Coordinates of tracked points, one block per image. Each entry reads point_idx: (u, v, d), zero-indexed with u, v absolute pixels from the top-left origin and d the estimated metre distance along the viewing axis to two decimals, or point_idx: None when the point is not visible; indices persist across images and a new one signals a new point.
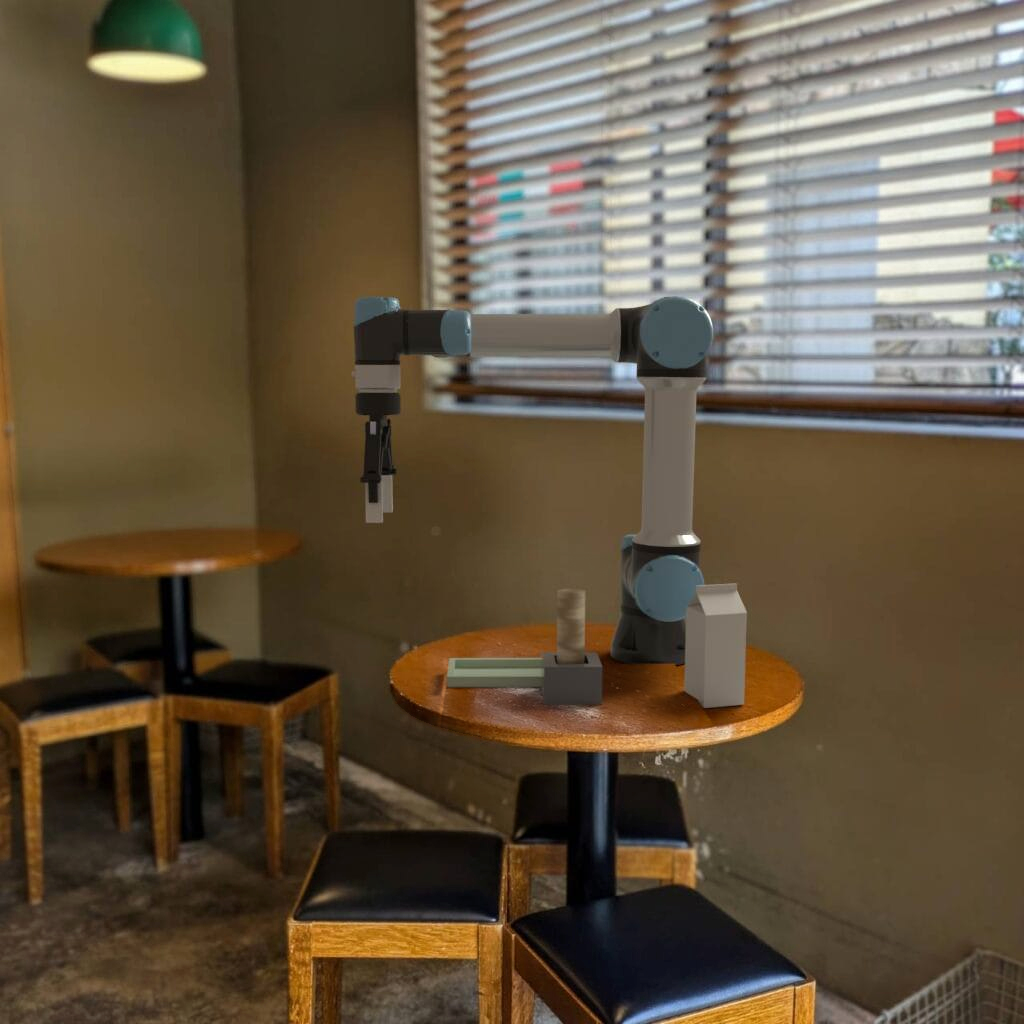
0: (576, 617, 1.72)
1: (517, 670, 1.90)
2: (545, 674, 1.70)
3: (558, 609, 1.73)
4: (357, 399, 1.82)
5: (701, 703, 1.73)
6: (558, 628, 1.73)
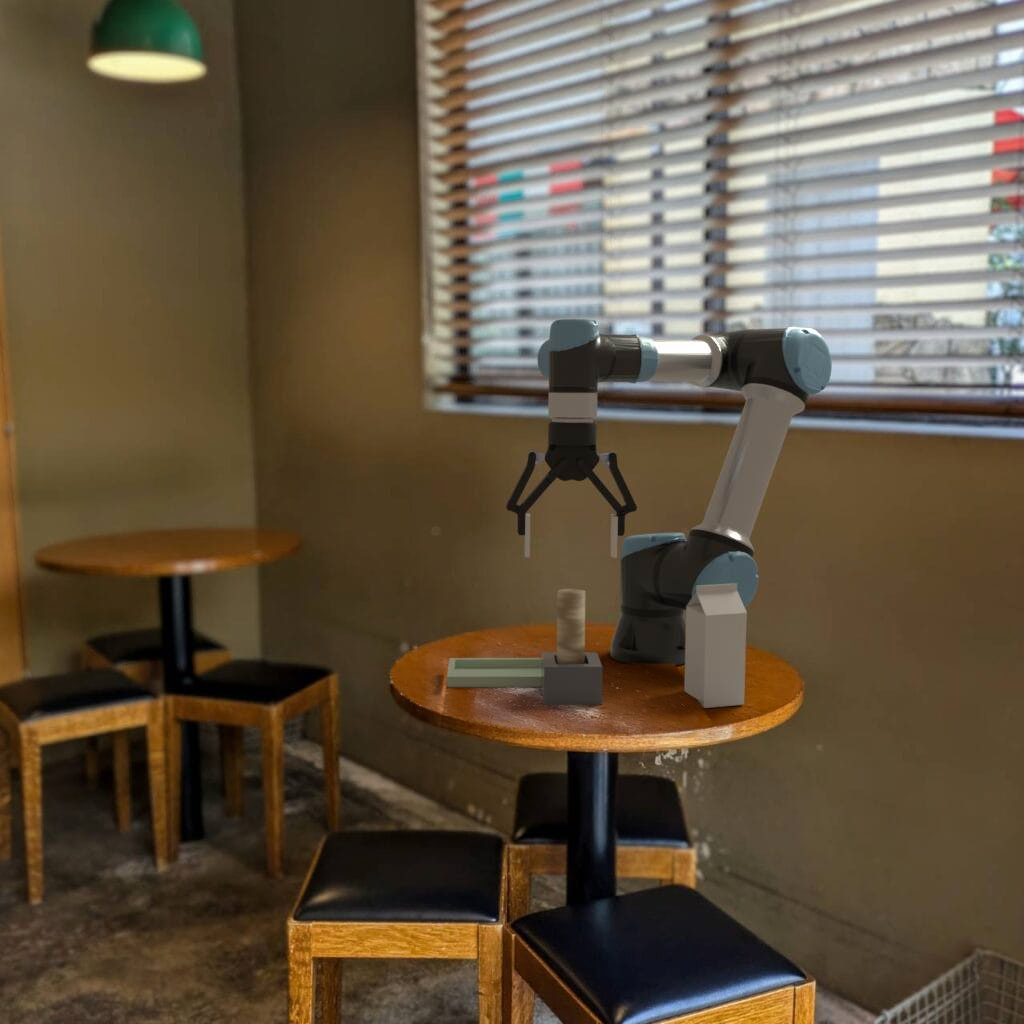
0: (576, 617, 1.72)
1: (517, 670, 1.90)
2: (545, 674, 1.70)
3: (558, 609, 1.73)
4: None
5: (701, 703, 1.73)
6: (558, 628, 1.73)
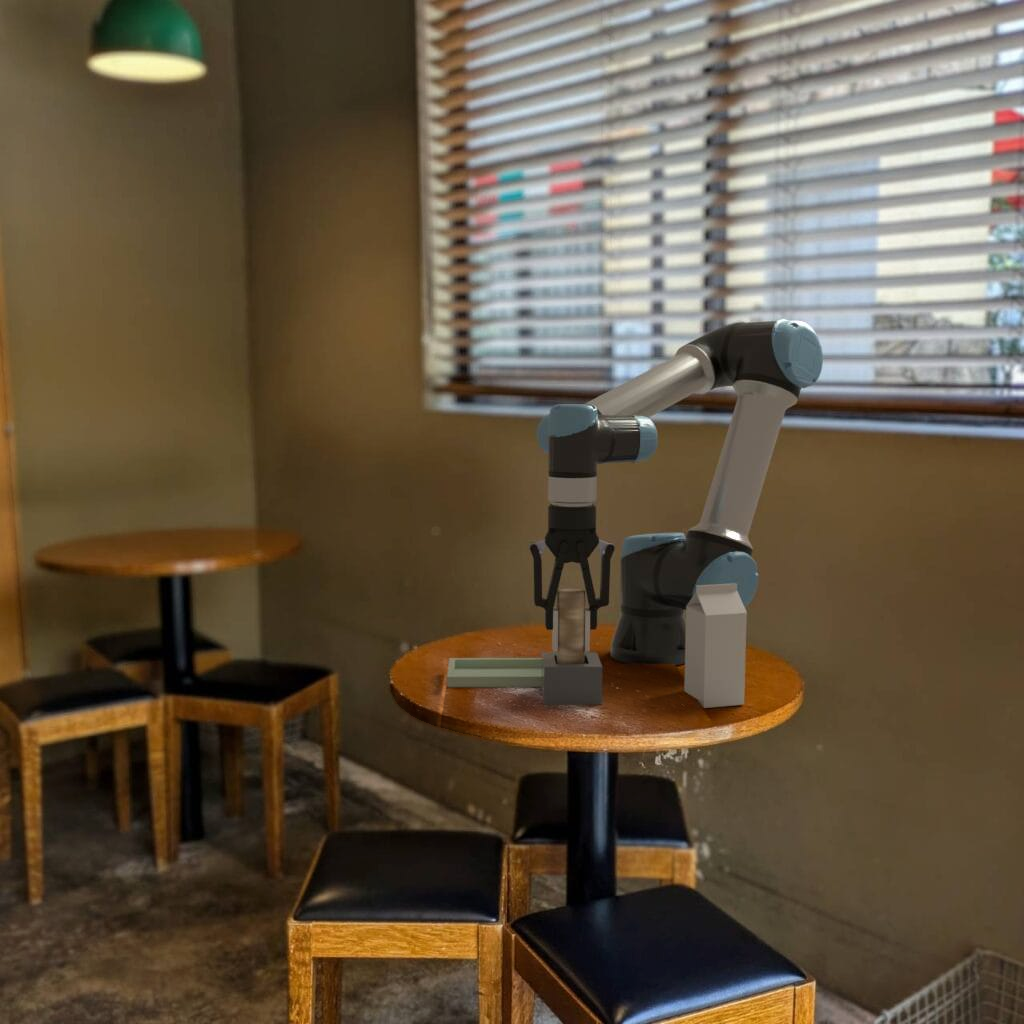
0: (576, 617, 1.72)
1: (517, 670, 1.90)
2: (545, 674, 1.70)
3: (558, 609, 1.73)
4: None
5: (701, 703, 1.73)
6: (558, 628, 1.73)
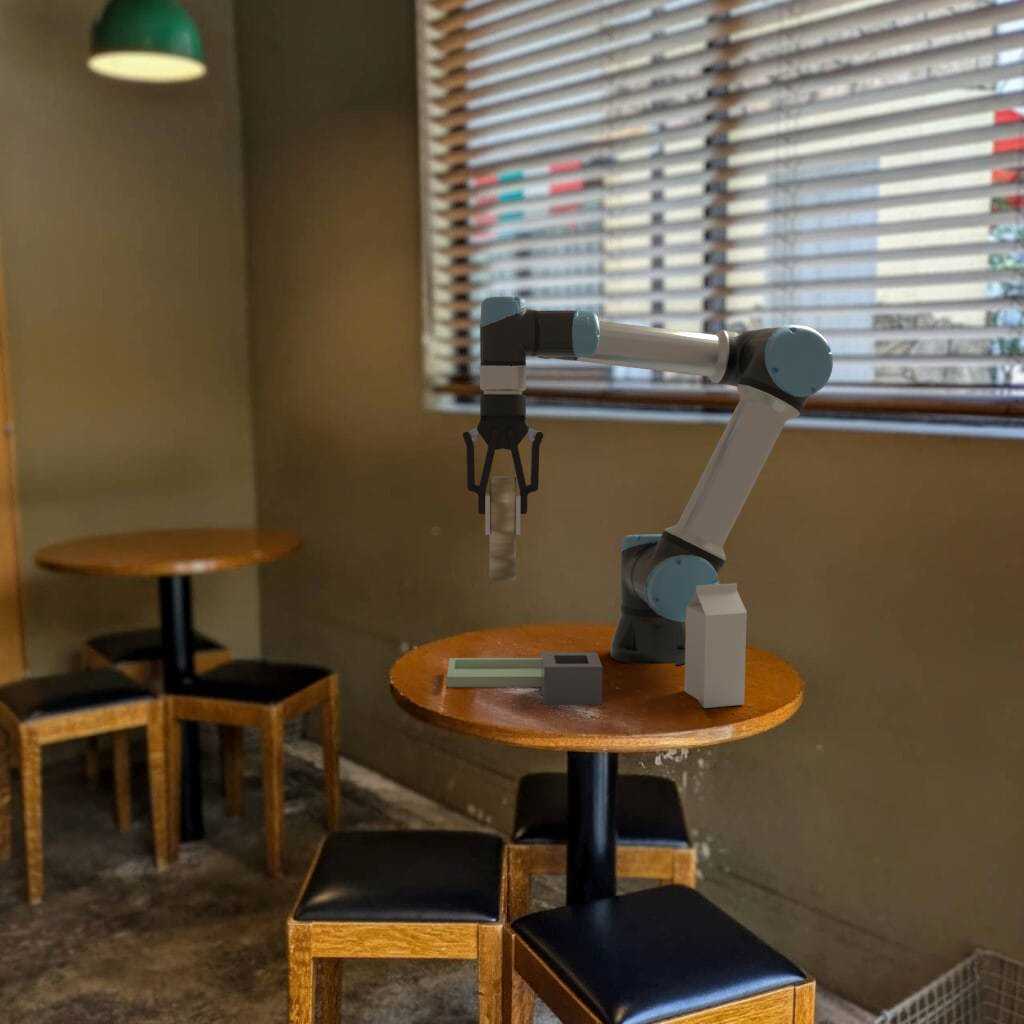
0: (507, 501, 1.81)
1: (517, 670, 1.90)
2: (545, 674, 1.70)
3: (490, 495, 1.82)
4: None
5: (701, 703, 1.73)
6: (490, 512, 1.82)
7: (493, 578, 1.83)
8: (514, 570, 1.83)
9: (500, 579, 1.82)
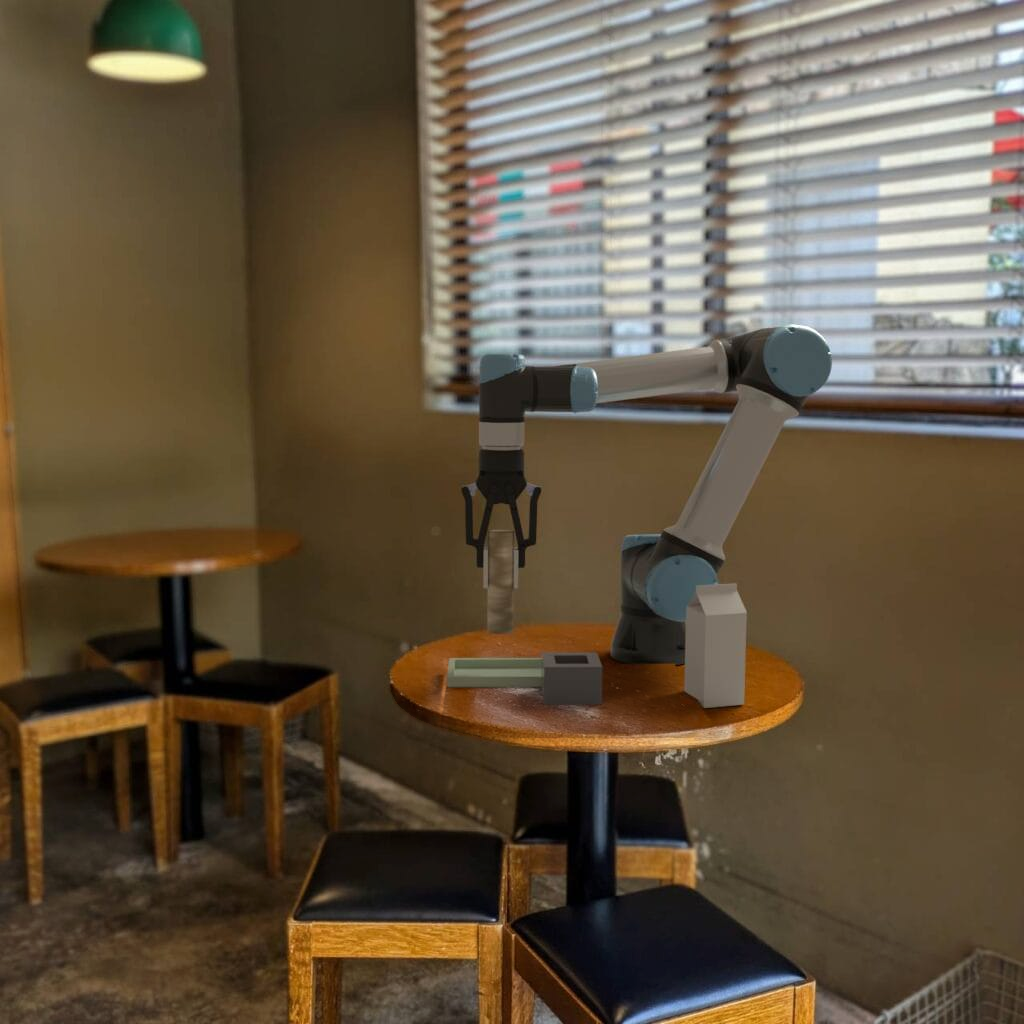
0: (505, 555, 1.82)
1: (517, 670, 1.90)
2: (545, 674, 1.70)
3: (488, 548, 1.83)
4: None
5: (701, 703, 1.73)
6: (488, 566, 1.84)
7: (491, 631, 1.84)
8: (512, 623, 1.85)
9: (498, 632, 1.84)
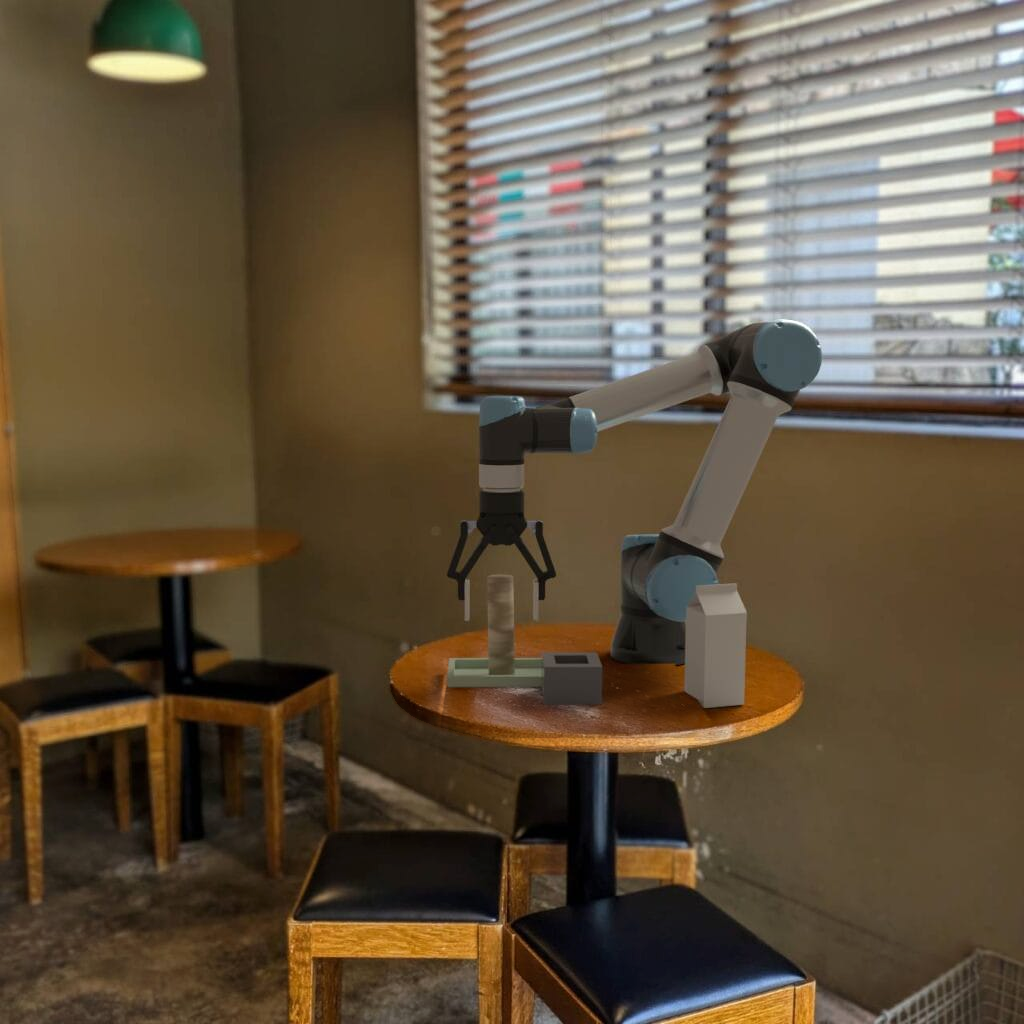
0: (504, 600, 1.83)
1: (517, 670, 1.90)
2: (545, 674, 1.70)
3: (487, 594, 1.84)
4: None
5: (701, 703, 1.73)
6: (488, 611, 1.85)
7: None
8: (513, 667, 1.86)
9: None
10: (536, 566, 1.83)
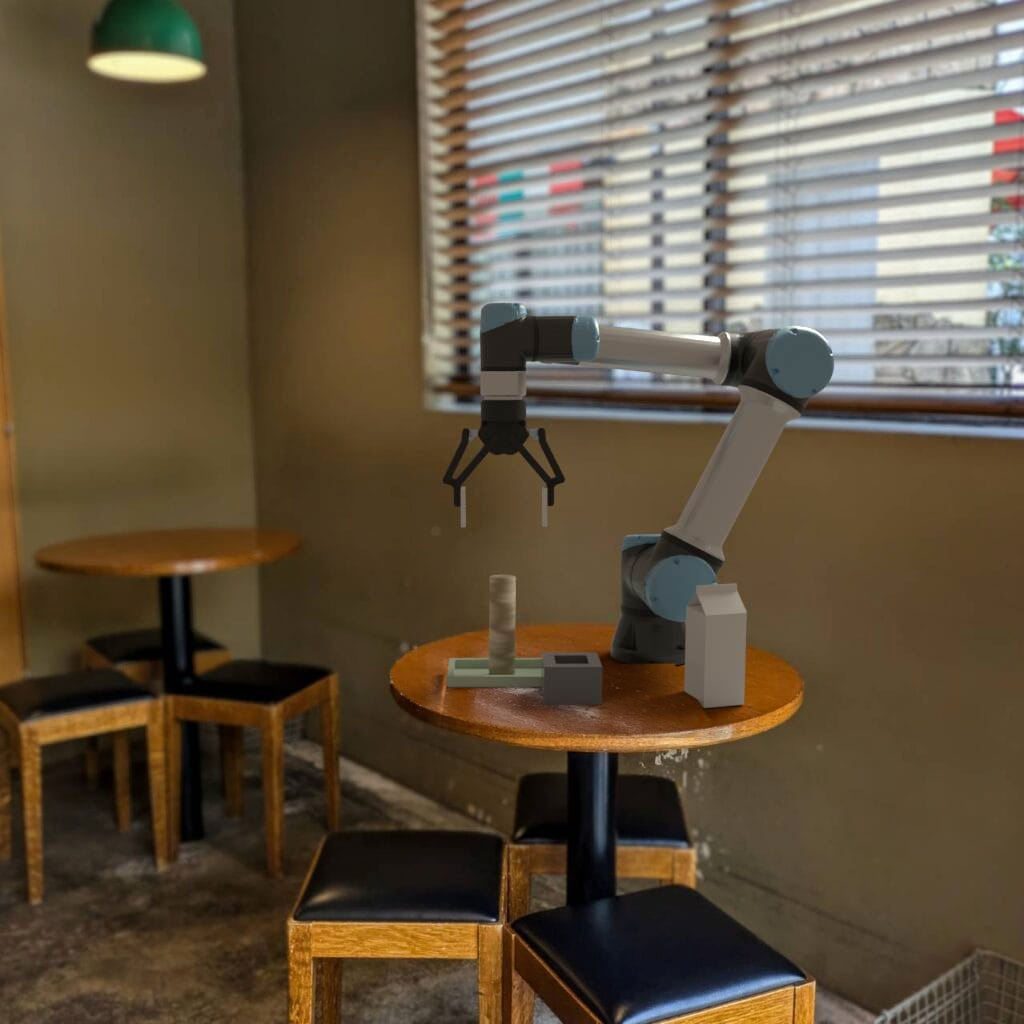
0: (507, 601, 1.83)
1: (517, 670, 1.90)
2: (545, 674, 1.70)
3: (490, 594, 1.84)
4: None
5: (701, 703, 1.73)
6: (490, 611, 1.84)
7: None
8: (513, 668, 1.86)
9: None
10: (543, 472, 1.82)
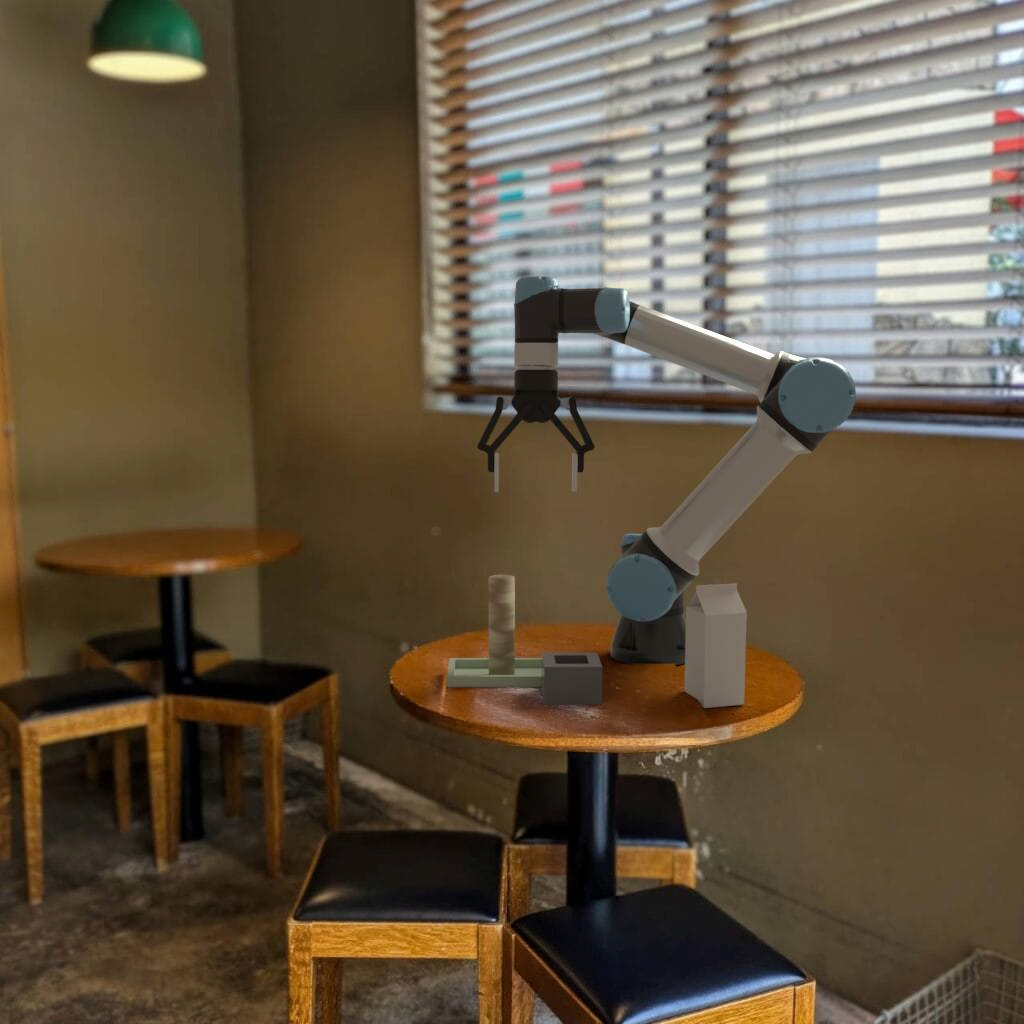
0: (506, 601, 1.83)
1: (517, 670, 1.90)
2: (545, 674, 1.70)
3: (489, 594, 1.84)
4: None
5: (701, 703, 1.73)
6: (489, 612, 1.84)
7: None
8: (513, 668, 1.86)
9: None
10: (574, 439, 1.90)
